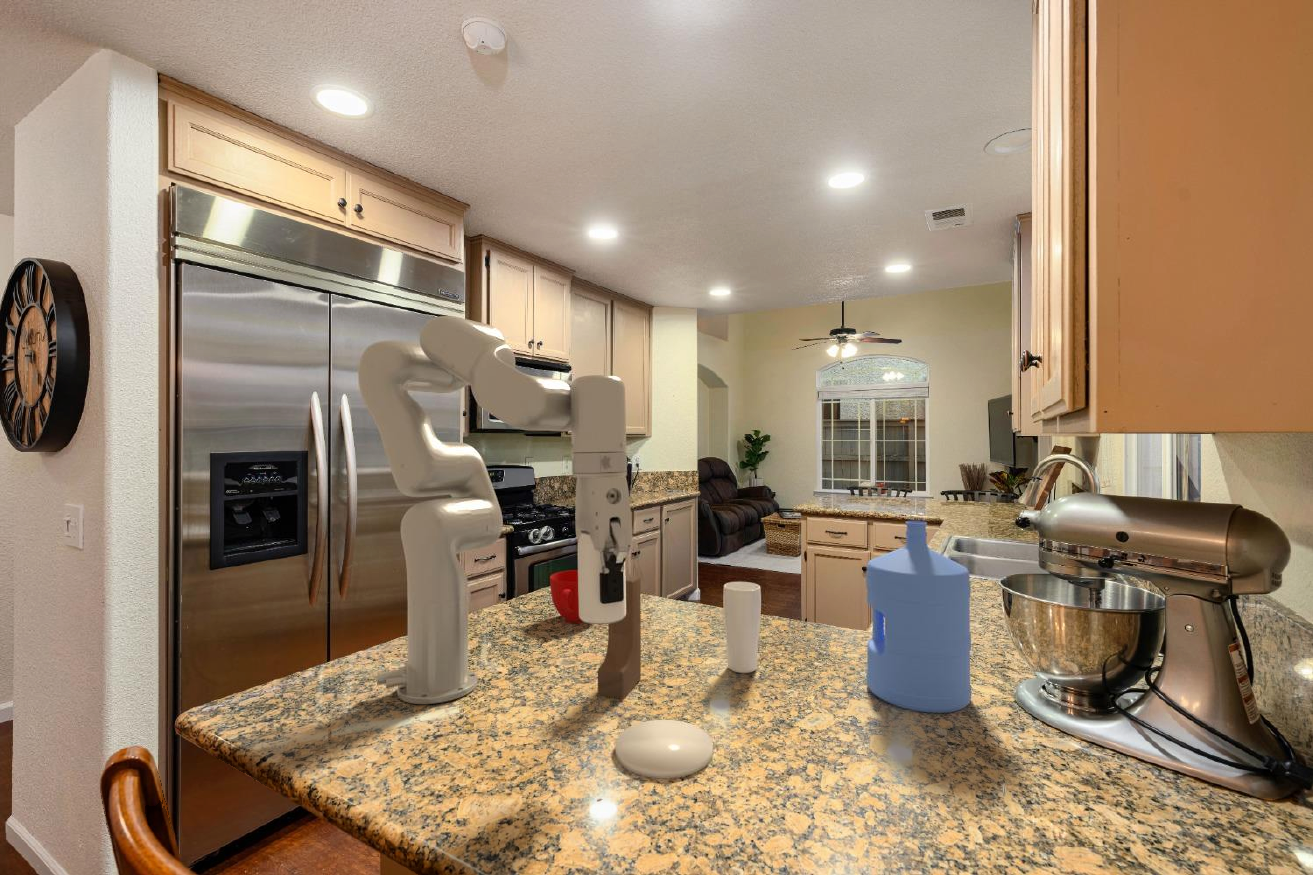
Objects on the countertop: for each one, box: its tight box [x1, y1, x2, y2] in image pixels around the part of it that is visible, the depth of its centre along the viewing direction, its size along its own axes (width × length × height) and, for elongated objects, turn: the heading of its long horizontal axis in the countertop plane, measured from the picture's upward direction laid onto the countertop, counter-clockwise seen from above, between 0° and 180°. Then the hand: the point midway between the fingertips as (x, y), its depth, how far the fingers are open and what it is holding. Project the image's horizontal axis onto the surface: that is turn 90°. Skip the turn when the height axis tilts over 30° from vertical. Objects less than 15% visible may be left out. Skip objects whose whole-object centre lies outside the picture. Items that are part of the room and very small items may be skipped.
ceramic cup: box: [549, 569, 584, 624], centre depth 135 cm, size 13×17×10 cm
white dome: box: [615, 719, 714, 779], centre depth 78 cm, size 13×13×1 cm
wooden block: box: [597, 574, 642, 700], centre depth 98 cm, size 9×4×18 cm, turn 162°
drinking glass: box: [722, 581, 762, 674], centre depth 106 cm, size 7×7×15 cm
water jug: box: [865, 520, 972, 714], centre depth 96 cm, size 16×16×28 cm
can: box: [577, 531, 626, 626], centre depth 80 cm, size 6×6×12 cm
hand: (602, 595), depth 80 cm, fingers closed on can, 6 cm apart
